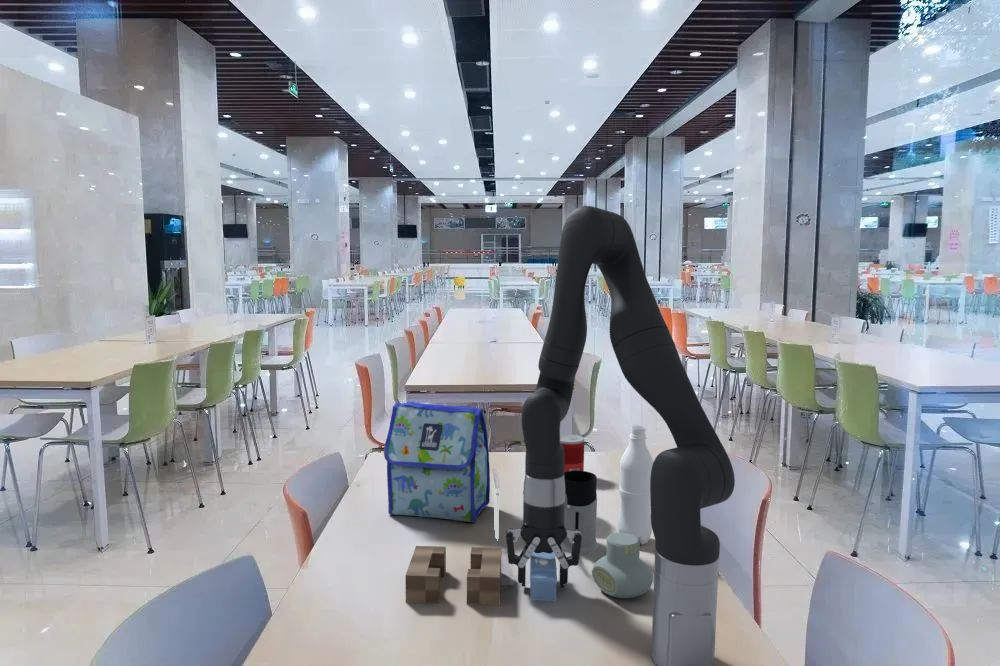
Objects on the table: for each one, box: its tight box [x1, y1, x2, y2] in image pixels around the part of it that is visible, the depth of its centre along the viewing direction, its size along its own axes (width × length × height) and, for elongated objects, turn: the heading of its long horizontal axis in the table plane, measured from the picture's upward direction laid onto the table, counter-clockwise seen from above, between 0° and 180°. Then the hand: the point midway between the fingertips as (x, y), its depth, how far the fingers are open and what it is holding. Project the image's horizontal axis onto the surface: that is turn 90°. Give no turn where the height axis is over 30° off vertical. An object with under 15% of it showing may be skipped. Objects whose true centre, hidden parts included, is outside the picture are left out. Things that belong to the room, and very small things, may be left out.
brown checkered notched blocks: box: [405, 545, 503, 606], centre depth 124 cm, size 12×16×5 cm
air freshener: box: [591, 532, 654, 599], centre depth 123 cm, size 11×8×10 cm
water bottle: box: [617, 424, 654, 545], centre depth 143 cm, size 7×7×25 cm
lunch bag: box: [383, 401, 491, 523], centre depth 159 cm, size 22×17×26 cm
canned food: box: [560, 434, 585, 472], centre depth 185 cm, size 8×8×11 cm
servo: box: [529, 552, 558, 601], centre depth 123 cm, size 4×12×7 cm, turn 178°
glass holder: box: [561, 470, 599, 555], centre depth 139 cm, size 9×14×15 cm, turn 146°
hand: (542, 584), depth 124 cm, fingers open, 6 cm apart
